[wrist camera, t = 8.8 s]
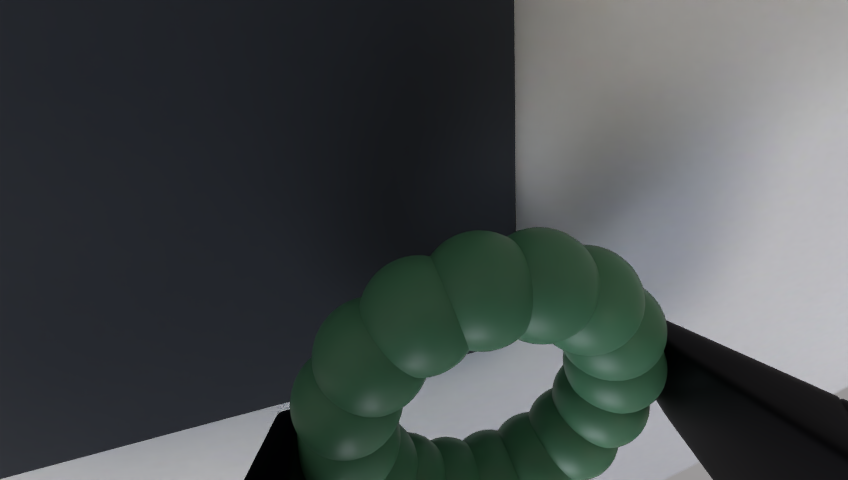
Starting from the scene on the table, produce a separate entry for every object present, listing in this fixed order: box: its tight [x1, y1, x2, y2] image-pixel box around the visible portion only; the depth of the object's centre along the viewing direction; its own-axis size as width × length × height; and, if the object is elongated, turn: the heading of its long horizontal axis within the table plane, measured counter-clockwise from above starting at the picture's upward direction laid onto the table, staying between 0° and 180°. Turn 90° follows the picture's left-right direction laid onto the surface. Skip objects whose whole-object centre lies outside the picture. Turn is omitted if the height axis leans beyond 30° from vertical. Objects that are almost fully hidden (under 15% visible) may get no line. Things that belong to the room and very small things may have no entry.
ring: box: [290, 227, 667, 480], centre depth 9 cm, size 8×8×2 cm
